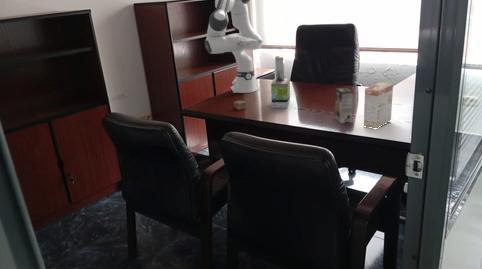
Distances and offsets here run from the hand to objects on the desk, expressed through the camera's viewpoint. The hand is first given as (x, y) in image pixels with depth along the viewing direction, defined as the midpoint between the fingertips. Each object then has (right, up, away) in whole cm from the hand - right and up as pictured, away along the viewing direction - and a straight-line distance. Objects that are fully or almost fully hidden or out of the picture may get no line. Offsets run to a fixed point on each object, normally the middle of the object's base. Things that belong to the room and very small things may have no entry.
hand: (257, 40), depth 224 cm
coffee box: (+43, -45, -17) cm, 65 cm away
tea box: (+15, -35, +18) cm, 42 cm away
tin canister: (+14, -21, +13) cm, 28 cm away
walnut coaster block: (-10, -37, +16) cm, 41 cm away
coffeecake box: (+58, -48, -26) cm, 79 cm away
